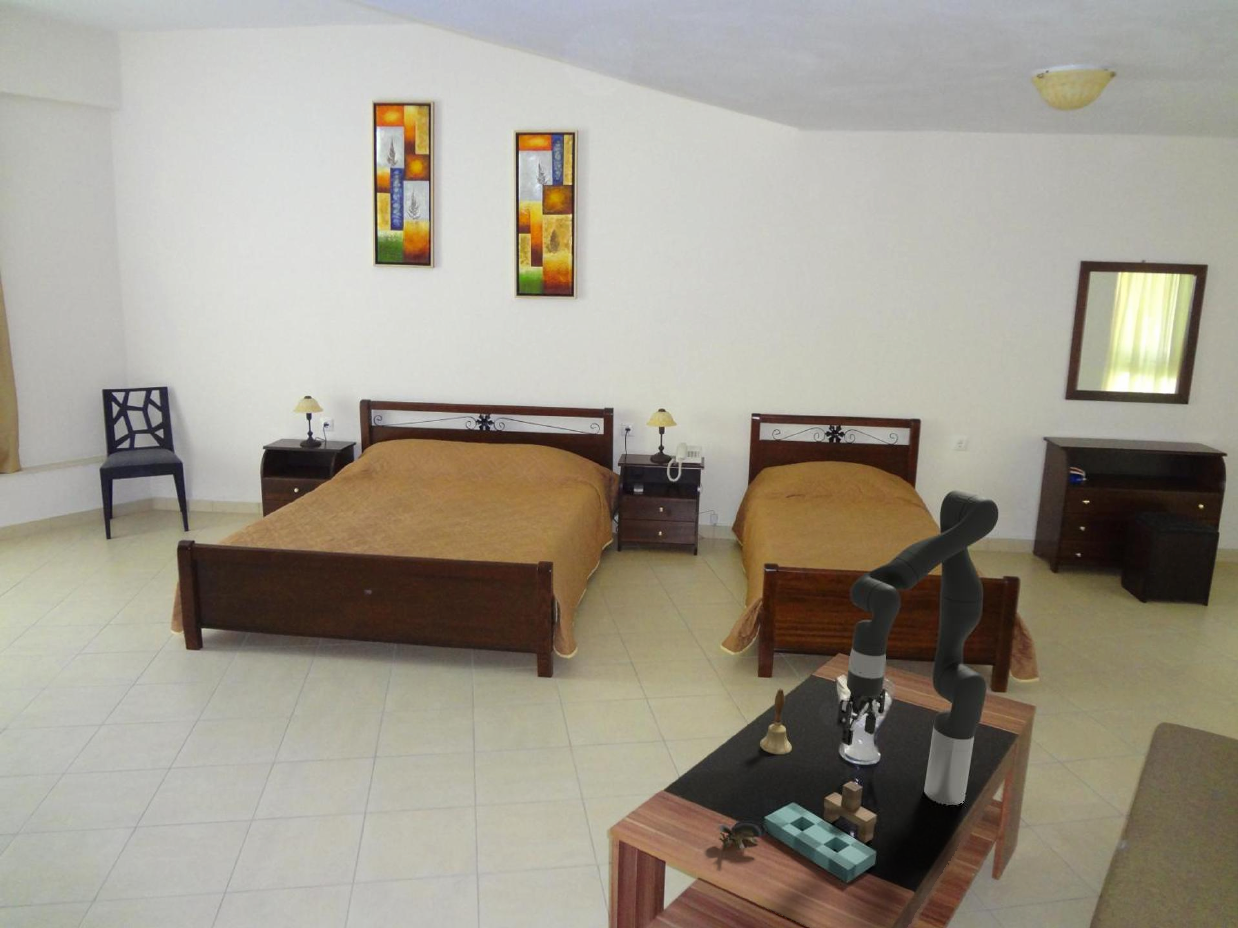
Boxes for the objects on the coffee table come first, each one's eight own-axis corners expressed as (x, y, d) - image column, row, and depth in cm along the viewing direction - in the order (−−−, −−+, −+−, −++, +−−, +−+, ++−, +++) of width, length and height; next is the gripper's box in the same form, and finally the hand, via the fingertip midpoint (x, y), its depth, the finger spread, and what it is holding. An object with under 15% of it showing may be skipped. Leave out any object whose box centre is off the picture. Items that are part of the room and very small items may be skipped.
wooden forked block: (822, 819, 201) (827, 777, 199) (832, 813, 203) (837, 772, 201) (863, 844, 193) (869, 800, 190) (873, 837, 195) (879, 794, 193)
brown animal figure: (738, 860, 183) (772, 842, 187) (725, 826, 184) (759, 808, 188) (721, 859, 189) (754, 841, 193) (708, 826, 191) (741, 809, 195)
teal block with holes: (763, 829, 196) (764, 817, 195) (791, 813, 202) (793, 801, 202) (846, 882, 179) (848, 869, 179) (874, 864, 186) (876, 851, 185)
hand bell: (754, 747, 231) (760, 690, 228) (767, 735, 238) (773, 680, 234) (784, 758, 226) (790, 700, 223) (796, 745, 233) (802, 689, 230)
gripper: (862, 683, 183) (853, 755, 186) (900, 667, 192) (891, 735, 196) (832, 670, 189) (824, 740, 192) (870, 655, 198) (862, 722, 201)
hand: (858, 737), depth 194 cm, fingers open, 8 cm apart
